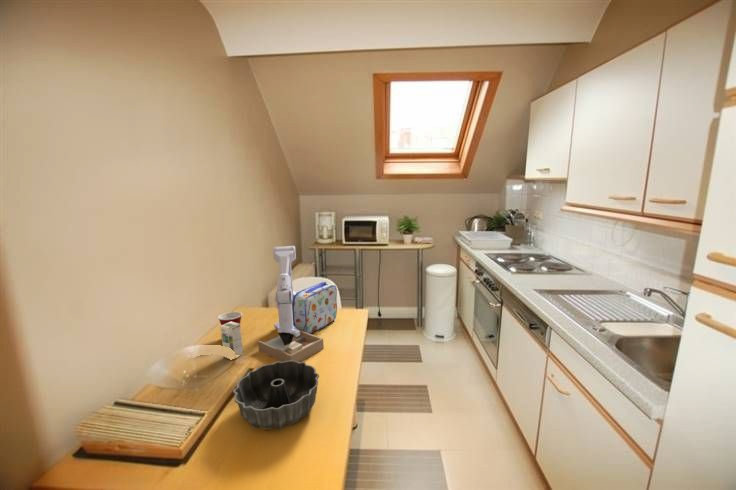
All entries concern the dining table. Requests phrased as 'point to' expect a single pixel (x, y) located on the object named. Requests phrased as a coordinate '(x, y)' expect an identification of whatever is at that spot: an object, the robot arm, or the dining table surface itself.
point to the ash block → (293, 347)
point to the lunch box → (314, 307)
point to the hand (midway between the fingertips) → (288, 347)
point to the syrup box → (232, 337)
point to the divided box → (309, 347)
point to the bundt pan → (277, 394)
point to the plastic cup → (230, 317)
